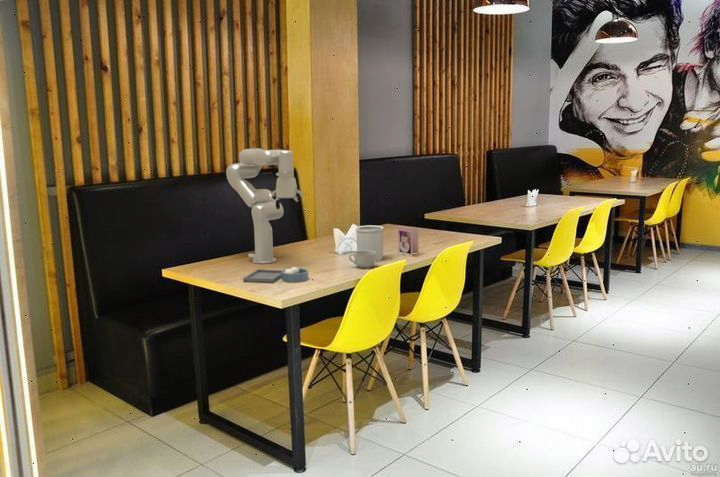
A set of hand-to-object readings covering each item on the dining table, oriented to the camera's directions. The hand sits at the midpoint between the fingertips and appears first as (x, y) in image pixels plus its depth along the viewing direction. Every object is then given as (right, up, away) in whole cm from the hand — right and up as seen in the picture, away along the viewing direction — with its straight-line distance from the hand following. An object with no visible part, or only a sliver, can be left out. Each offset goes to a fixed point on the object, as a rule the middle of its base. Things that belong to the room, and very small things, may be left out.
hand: (287, 209), depth 324 cm
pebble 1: (+3, -32, -22) cm, 39 cm away
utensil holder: (+42, -26, +23) cm, 55 cm away
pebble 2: (+5, -31, -18) cm, 36 cm away
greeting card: (+64, -24, +35) cm, 77 cm away
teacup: (+38, -30, +4) cm, 49 cm away
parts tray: (-9, -34, -17) cm, 39 cm away
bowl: (+6, -34, -20) cm, 40 cm away
